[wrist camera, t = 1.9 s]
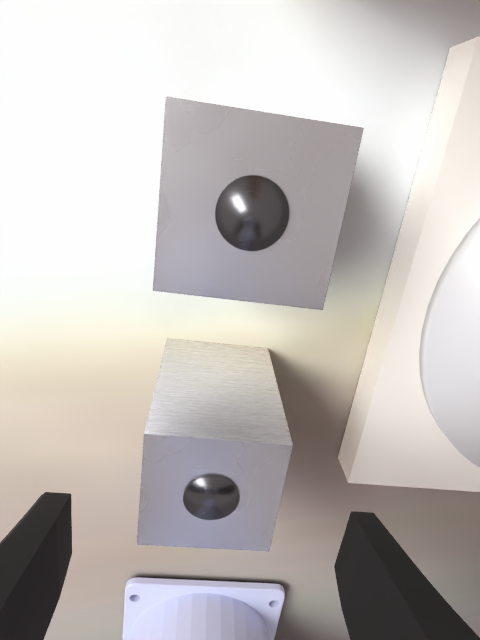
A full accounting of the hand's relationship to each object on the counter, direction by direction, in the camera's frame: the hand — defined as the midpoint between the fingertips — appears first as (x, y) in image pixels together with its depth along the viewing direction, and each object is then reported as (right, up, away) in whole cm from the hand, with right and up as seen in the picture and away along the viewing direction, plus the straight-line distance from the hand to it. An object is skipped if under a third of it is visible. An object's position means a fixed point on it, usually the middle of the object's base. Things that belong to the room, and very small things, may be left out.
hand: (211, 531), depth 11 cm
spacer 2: (0, +3, +7) cm, 7 cm away
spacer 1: (+1, +10, +4) cm, 11 cm away
